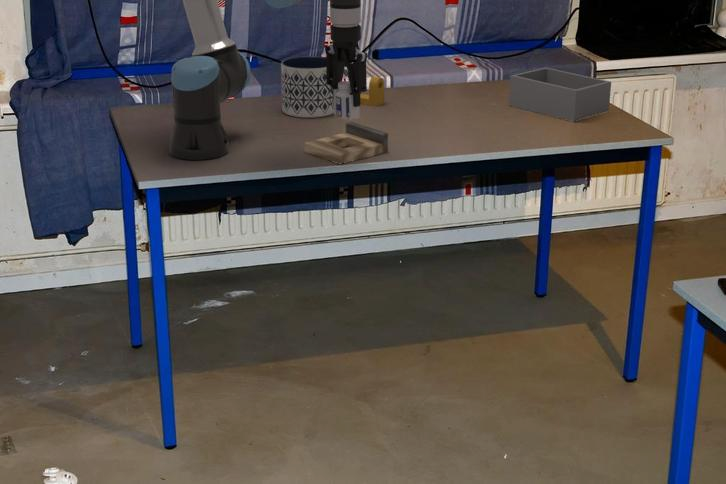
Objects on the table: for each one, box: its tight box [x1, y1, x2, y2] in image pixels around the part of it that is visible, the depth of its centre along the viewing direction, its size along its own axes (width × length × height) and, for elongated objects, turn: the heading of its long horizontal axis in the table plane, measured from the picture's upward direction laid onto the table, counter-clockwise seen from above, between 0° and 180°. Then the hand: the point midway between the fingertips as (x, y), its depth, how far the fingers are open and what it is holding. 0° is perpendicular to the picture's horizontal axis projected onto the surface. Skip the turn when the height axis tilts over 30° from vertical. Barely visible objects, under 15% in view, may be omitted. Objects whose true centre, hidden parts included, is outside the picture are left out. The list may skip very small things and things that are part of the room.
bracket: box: [360, 76, 385, 107], centre depth 326 cm, size 15×4×8 cm, turn 58°
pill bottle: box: [335, 80, 351, 121], centre depth 275 cm, size 5×5×9 cm
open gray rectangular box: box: [508, 67, 612, 121], centre depth 318 cm, size 16×24×9 cm, turn 42°
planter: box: [280, 55, 334, 119], centre depth 314 cm, size 16×16×14 cm
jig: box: [303, 121, 389, 164], centre depth 279 cm, size 16×14×5 cm
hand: (346, 116), depth 277 cm, fingers closed on pill bottle, 5 cm apart
